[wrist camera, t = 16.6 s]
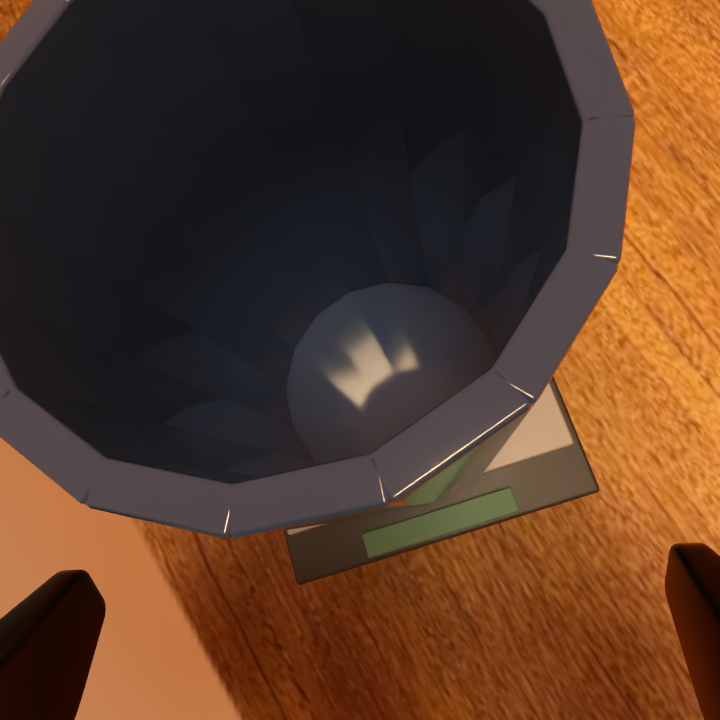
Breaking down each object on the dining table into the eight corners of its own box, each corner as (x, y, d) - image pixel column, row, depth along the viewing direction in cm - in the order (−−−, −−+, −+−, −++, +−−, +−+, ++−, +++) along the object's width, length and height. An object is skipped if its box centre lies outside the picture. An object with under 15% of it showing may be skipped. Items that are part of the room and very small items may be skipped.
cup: (495, 532, 16) (584, 621, 4) (256, 483, 17) (-170, 449, 6) (528, 291, 17) (665, -143, 6) (305, 265, 18) (43, -124, 7)
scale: (316, 575, 19) (290, 589, 16) (250, 328, 22) (218, 302, 19) (584, 492, 18) (607, 490, 15) (484, 245, 21) (487, 204, 18)
